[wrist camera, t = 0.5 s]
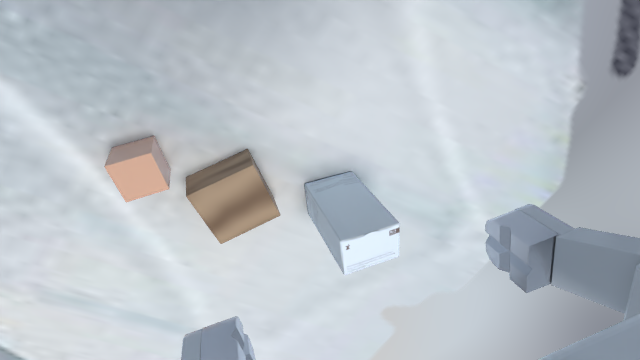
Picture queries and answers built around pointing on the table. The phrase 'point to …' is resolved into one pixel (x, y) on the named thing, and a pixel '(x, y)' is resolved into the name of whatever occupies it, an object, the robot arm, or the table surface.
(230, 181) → the walnut block
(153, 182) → the terracotta cube
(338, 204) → the skincare box
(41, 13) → the table surface
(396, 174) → the table surface
